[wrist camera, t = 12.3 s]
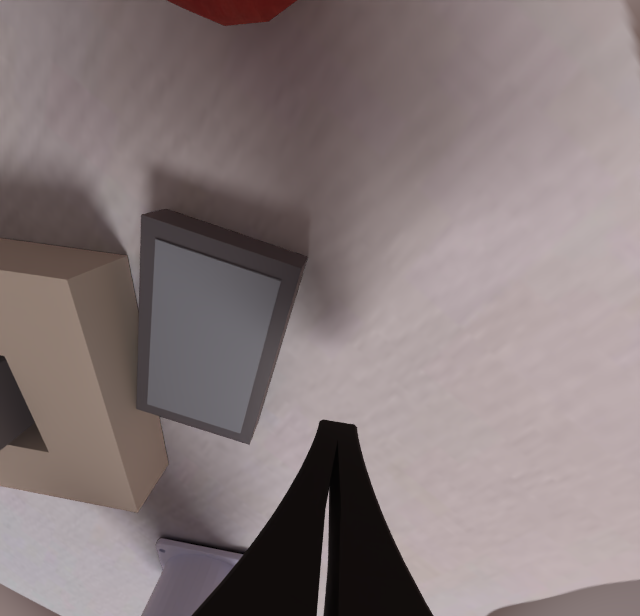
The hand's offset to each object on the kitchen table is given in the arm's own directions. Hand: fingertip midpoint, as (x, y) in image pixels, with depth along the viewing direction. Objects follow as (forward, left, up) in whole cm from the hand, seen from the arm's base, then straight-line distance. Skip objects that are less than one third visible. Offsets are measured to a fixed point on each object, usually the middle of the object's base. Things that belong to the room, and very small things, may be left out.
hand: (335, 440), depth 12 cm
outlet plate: (-2, +17, -4) cm, 18 cm away
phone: (+2, +6, -4) cm, 8 cm away
